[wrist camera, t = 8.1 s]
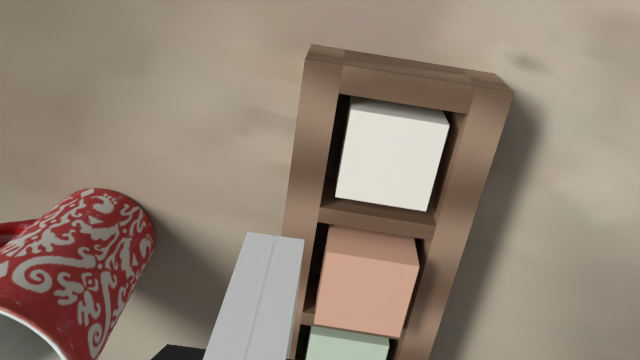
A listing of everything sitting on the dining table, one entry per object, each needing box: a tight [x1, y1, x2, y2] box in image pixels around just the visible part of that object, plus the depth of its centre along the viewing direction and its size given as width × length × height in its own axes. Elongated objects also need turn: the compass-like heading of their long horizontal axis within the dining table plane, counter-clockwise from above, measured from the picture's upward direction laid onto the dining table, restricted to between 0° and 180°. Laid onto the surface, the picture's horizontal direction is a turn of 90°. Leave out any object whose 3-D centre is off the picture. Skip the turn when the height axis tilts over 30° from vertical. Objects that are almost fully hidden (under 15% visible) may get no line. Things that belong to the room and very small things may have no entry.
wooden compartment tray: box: [282, 44, 514, 360], centre depth 34 cm, size 26×11×4 cm, turn 172°
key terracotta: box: [314, 224, 420, 337], centre depth 32 cm, size 5×5×4 cm
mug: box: [0, 188, 155, 360], centre depth 30 cm, size 13×9×14 cm
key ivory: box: [335, 95, 450, 211], centre depth 30 cm, size 5×5×4 cm
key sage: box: [304, 326, 389, 360], centre depth 37 cm, size 5×5×4 cm
